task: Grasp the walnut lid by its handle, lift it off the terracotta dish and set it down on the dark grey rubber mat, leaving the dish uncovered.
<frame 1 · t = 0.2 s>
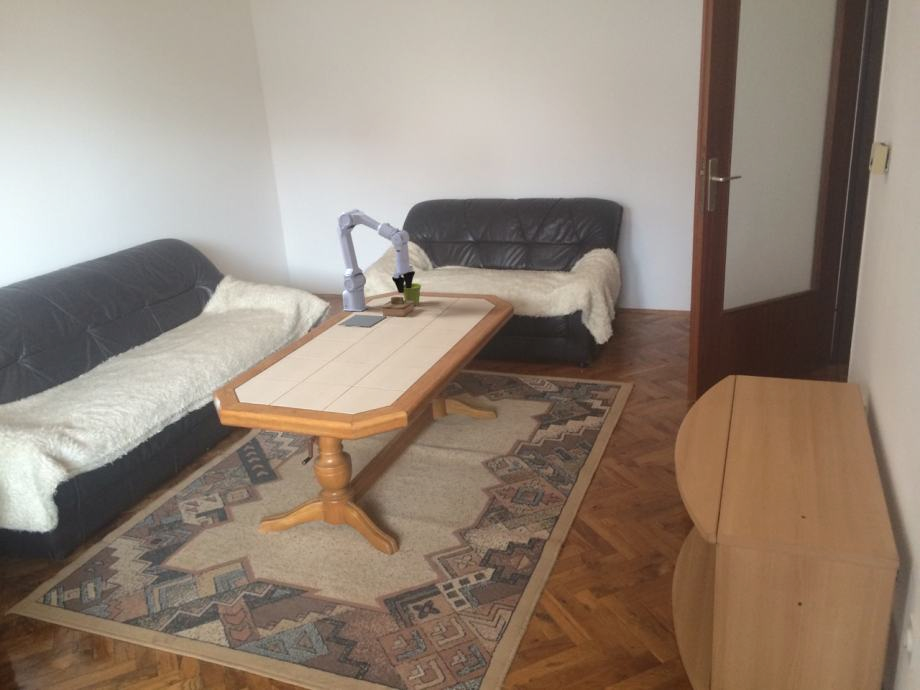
hand: (405, 290, 324), 10 cm above the table, tool pointing down, fingers open, 7 cm apart
mat: (362, 321, 318), on the table
dish: (398, 313, 327), on the table
lid: (397, 305, 325), point 3 cm above the table, touching dish
plant pot: (412, 304, 339), on the table
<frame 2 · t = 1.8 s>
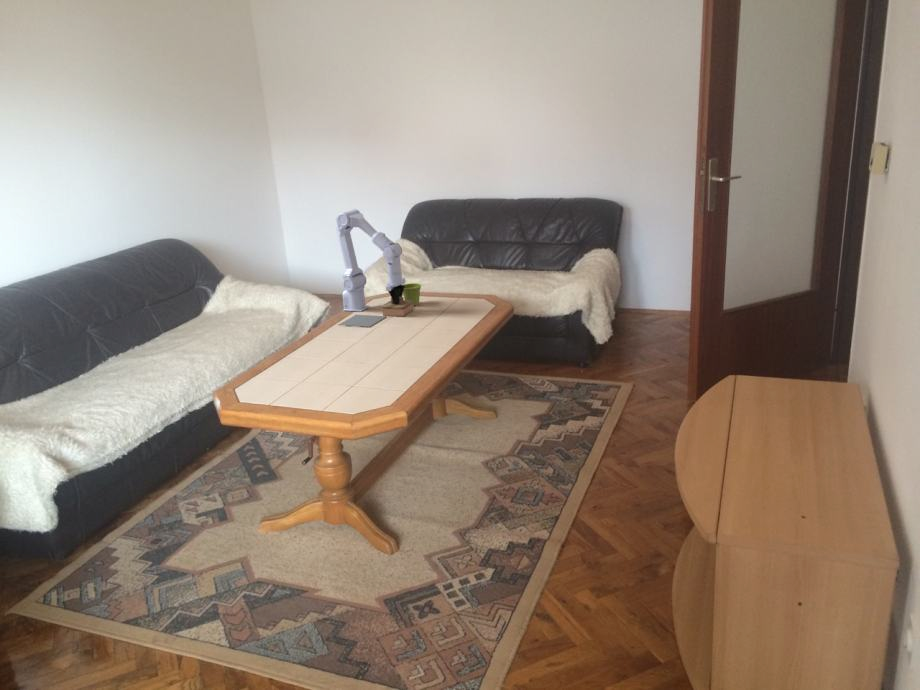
hand: (397, 302, 325), 5 cm above the table, tool pointing down, fingers closed on lid, 2 cm apart
lid: (397, 305, 325), point 3 cm above the table, touching dish, gripper
everything else where it was.
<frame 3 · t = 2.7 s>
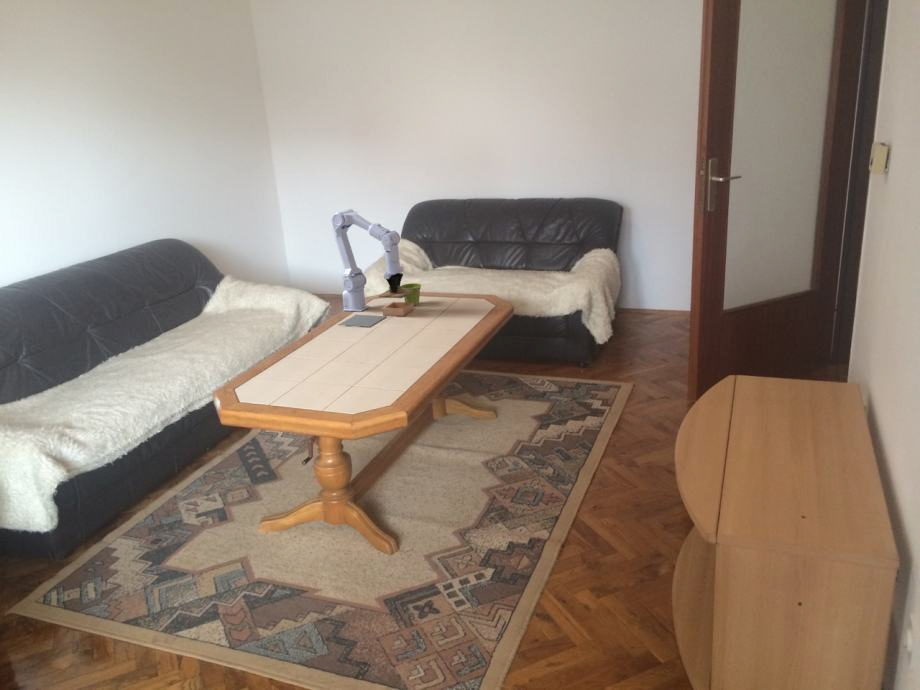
hand: (395, 291, 323), 10 cm above the table, tool pointing down, fingers closed on lid
lid: (396, 294, 324), point 8 cm above the table, touching gripper
everything else where it was.
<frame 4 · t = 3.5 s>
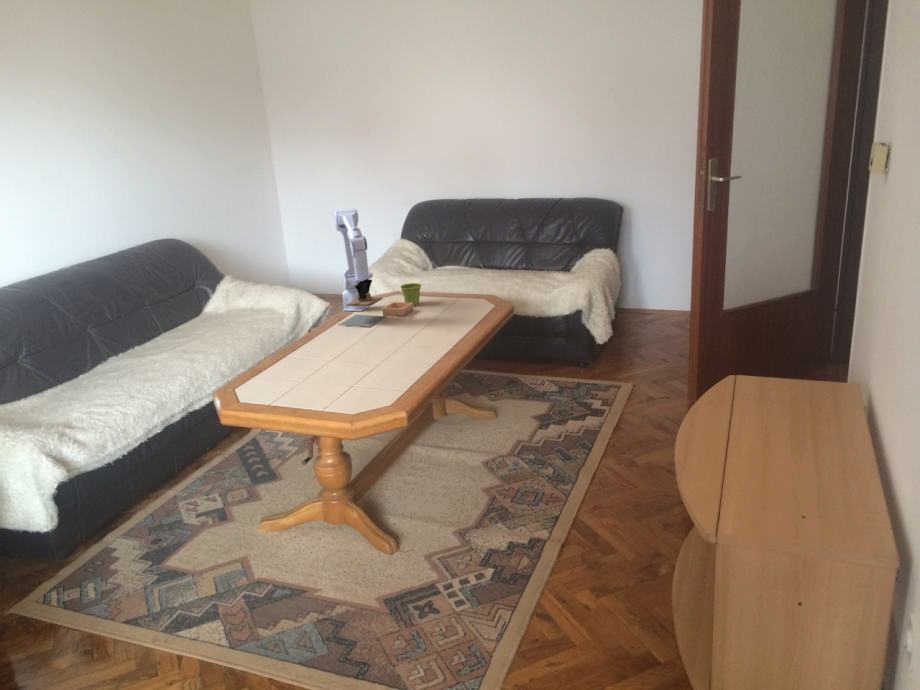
hand: (364, 297, 316), 10 cm above the table, tool pointing down, fingers closed on lid
lid: (365, 302, 317), point 8 cm above the table, touching gripper
everything else where it was.
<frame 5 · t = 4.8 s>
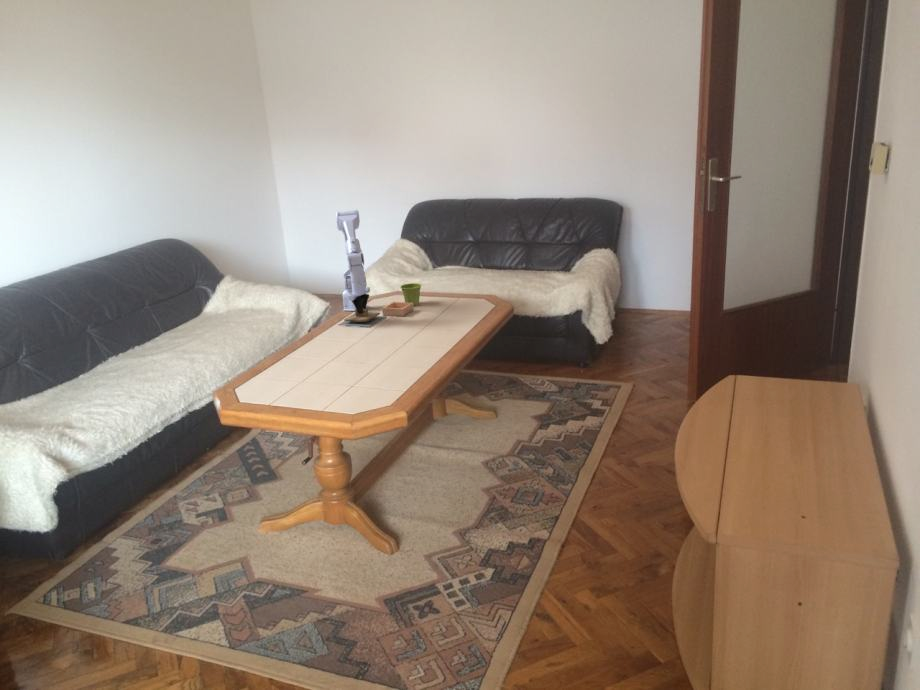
hand: (361, 312, 317), 4 cm above the table, tool pointing down, fingers closed on lid, 2 cm apart
lid: (362, 317, 318), point 2 cm above the table, touching gripper
everything else where it was.
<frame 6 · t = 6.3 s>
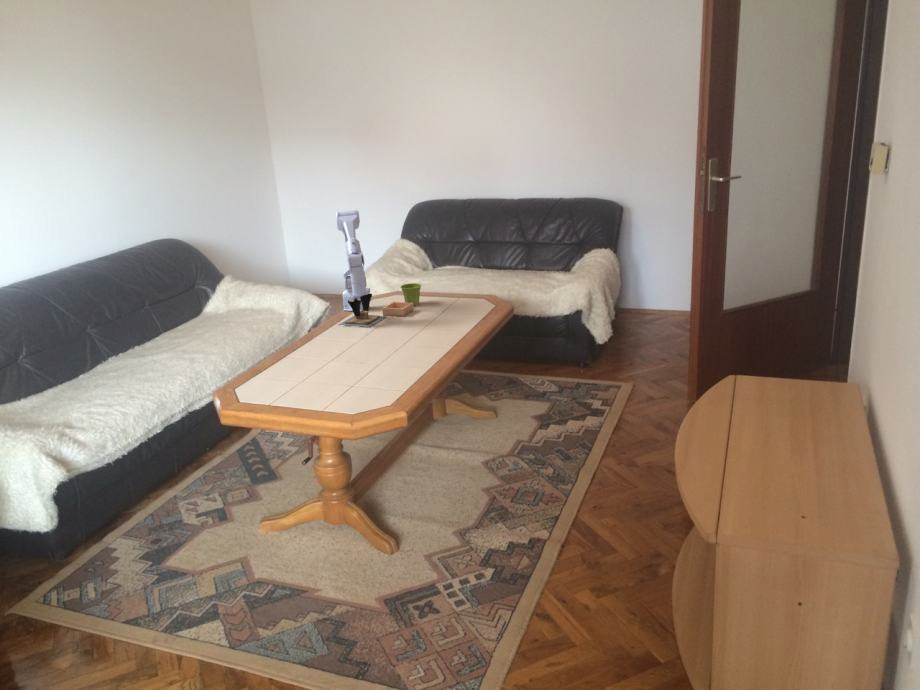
hand: (361, 313, 317), 4 cm above the table, tool pointing down, fingers open, 7 cm apart
lid: (362, 320, 318), resting on mat
everything else where it was.
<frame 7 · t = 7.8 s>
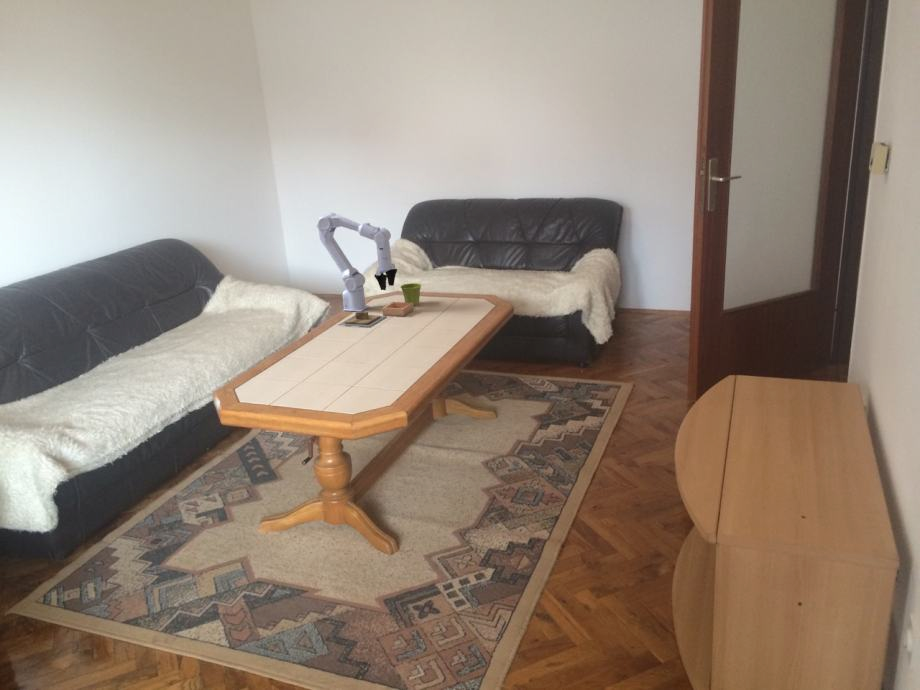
hand: (387, 287, 330), 10 cm above the table, tool pointing down, fingers open, 7 cm apart
nothing on the table moved.
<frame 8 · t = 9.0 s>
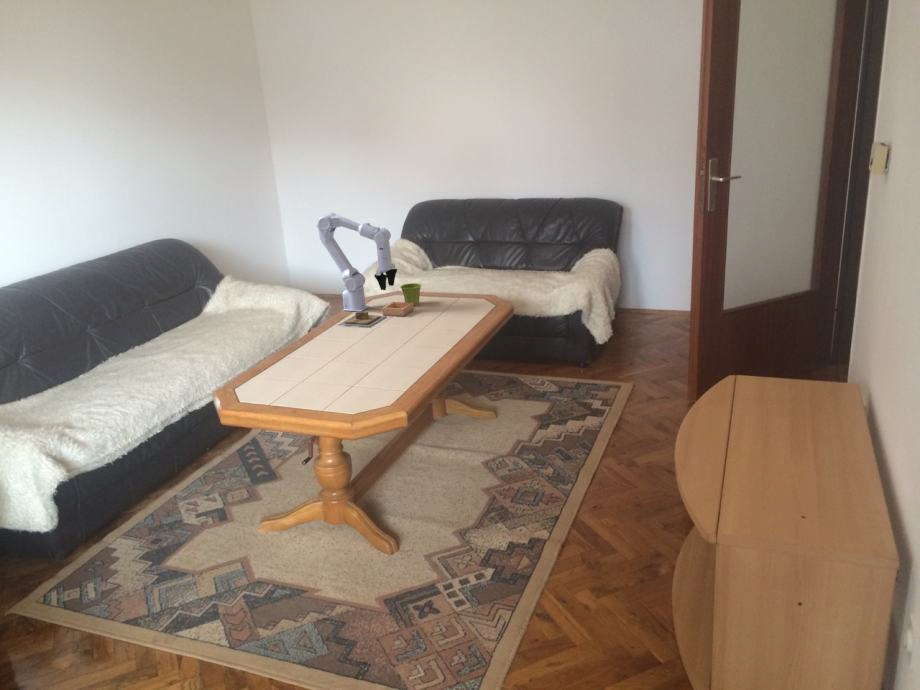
hand: (387, 287, 330), 10 cm above the table, tool pointing down, fingers open, 7 cm apart
nothing on the table moved.
at the end: lid inside the target area on the mat (0.0 cm from its centre), point 0.4 cm above the mat's base; lid tilted 0°; lid touching mat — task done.
